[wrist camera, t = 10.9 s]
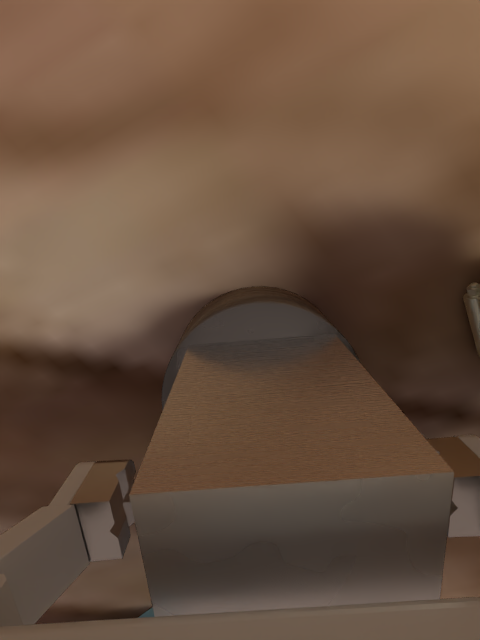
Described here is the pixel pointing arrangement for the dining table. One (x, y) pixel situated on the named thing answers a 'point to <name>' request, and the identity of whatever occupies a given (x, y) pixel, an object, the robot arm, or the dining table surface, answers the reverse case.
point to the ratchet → (250, 323)
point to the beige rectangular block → (287, 485)
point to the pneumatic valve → (473, 311)
